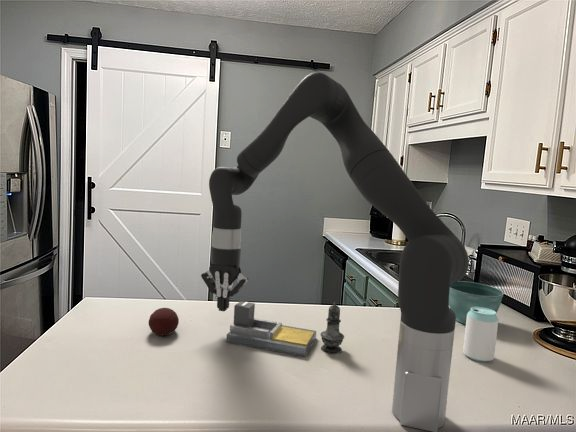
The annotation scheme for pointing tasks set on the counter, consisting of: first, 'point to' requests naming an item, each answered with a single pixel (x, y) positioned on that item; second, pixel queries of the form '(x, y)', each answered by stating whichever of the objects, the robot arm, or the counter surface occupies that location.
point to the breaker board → (273, 337)
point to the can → (480, 334)
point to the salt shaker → (332, 332)
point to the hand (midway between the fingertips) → (223, 310)
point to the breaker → (244, 314)
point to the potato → (163, 321)
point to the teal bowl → (472, 298)
